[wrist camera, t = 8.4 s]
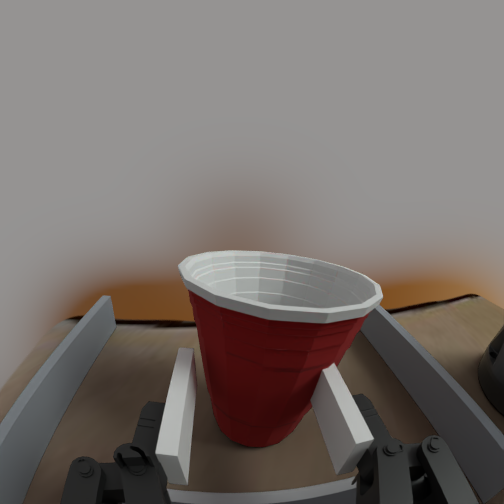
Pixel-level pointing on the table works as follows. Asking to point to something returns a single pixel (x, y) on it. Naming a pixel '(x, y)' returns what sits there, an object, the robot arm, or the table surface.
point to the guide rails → (374, 328)
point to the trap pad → (275, 495)
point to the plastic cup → (271, 334)
